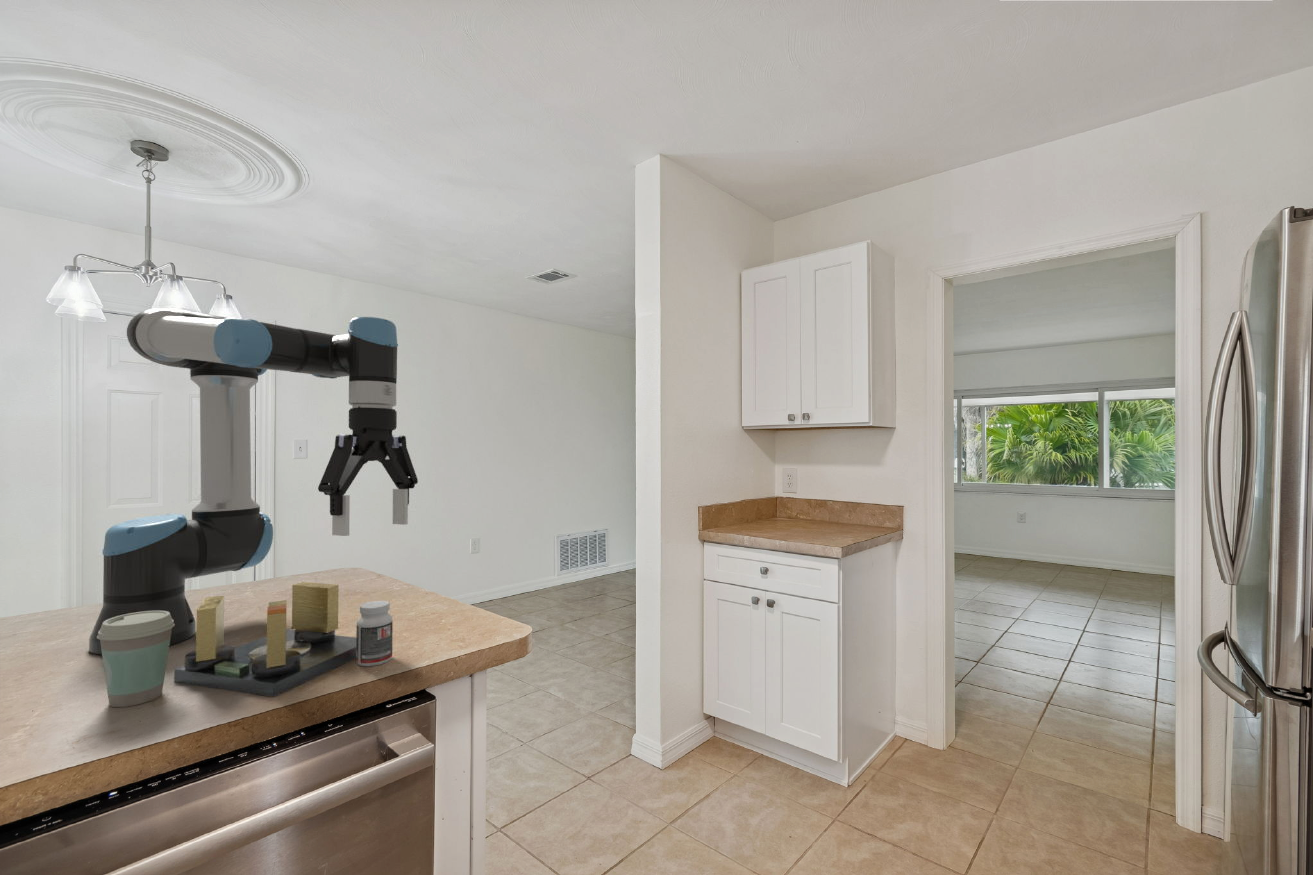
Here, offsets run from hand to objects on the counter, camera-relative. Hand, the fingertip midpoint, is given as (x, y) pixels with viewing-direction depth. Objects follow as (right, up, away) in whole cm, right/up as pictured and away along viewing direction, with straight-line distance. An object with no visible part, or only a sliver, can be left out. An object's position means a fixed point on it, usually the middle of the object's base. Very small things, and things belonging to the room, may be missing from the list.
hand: (372, 529), depth 100 cm
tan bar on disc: (-11, -21, -9) cm, 25 cm away
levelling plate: (-15, -23, -2) cm, 27 cm away
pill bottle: (0, -23, 0) cm, 23 cm away
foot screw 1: (-23, -21, -7) cm, 32 cm away
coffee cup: (-28, -23, -15) cm, 39 cm away
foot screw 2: (-13, -21, +5) cm, 25 cm away
